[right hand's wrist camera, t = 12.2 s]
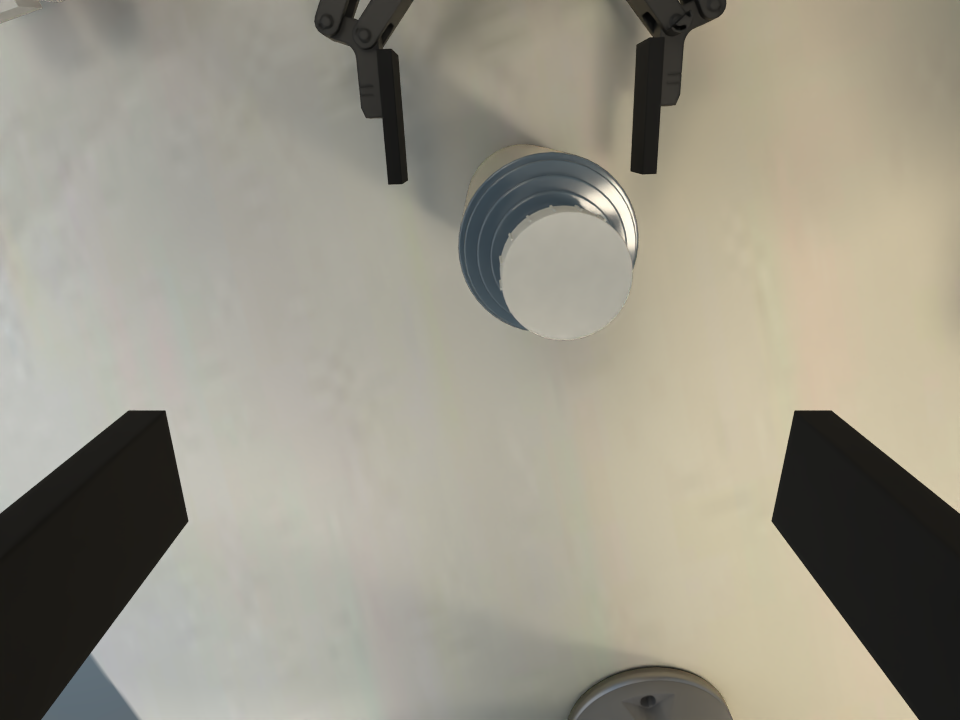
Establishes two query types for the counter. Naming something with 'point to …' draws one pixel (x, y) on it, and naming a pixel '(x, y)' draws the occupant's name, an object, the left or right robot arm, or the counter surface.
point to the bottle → (530, 210)
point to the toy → (19, 8)
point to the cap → (565, 273)
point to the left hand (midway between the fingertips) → (520, 178)
